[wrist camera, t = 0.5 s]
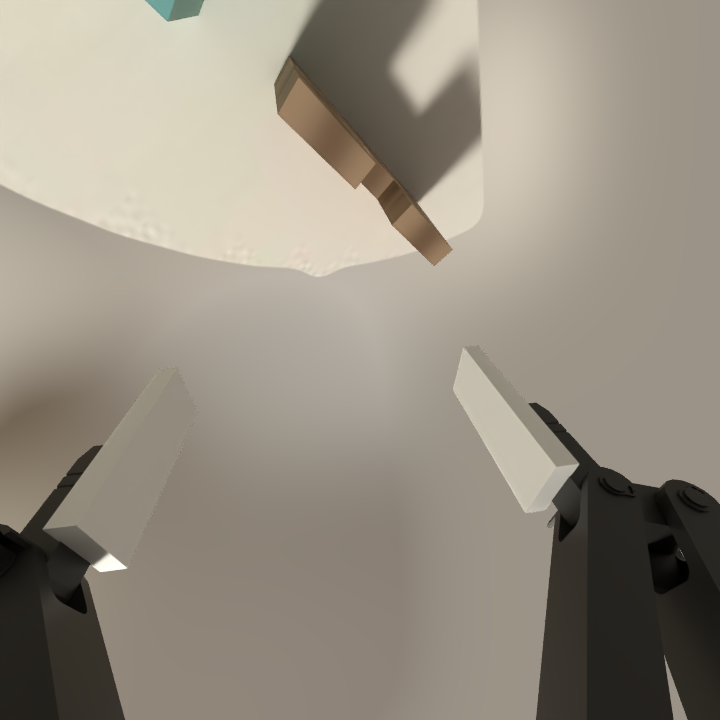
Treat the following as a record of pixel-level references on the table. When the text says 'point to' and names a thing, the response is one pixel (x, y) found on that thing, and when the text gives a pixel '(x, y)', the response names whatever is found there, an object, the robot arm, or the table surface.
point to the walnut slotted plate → (353, 158)
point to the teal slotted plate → (176, 8)
